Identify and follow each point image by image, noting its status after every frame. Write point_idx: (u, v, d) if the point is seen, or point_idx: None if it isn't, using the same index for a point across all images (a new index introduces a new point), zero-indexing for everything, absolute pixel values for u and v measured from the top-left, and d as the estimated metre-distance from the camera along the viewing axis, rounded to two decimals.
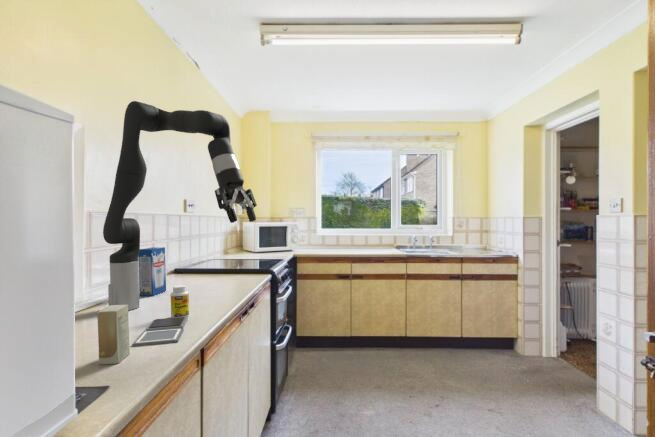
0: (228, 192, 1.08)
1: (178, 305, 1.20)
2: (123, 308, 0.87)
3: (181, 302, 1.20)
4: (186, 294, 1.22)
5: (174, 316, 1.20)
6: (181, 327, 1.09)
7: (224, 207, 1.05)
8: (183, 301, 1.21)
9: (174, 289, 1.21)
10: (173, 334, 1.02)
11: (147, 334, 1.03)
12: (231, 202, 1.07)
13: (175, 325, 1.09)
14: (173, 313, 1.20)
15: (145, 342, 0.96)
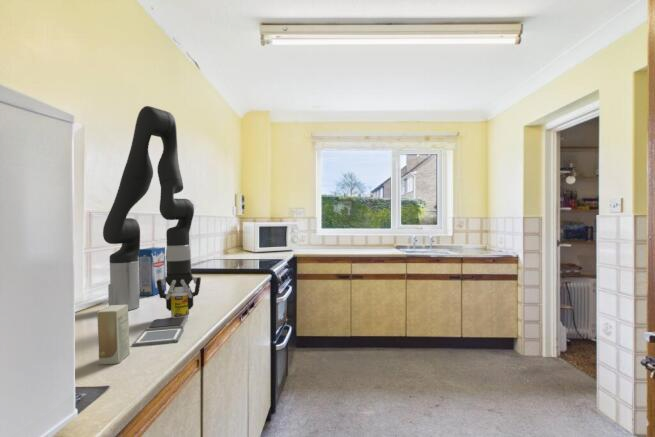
0: (167, 283, 1.21)
1: (178, 305, 1.20)
2: (123, 308, 0.87)
3: (181, 302, 1.20)
4: (186, 294, 1.22)
5: (174, 316, 1.20)
6: (181, 327, 1.09)
7: None
8: (183, 301, 1.21)
9: (174, 289, 1.21)
10: (173, 334, 1.02)
11: (147, 334, 1.03)
12: (168, 294, 1.21)
13: (175, 325, 1.09)
14: (173, 313, 1.20)
15: (145, 342, 0.96)
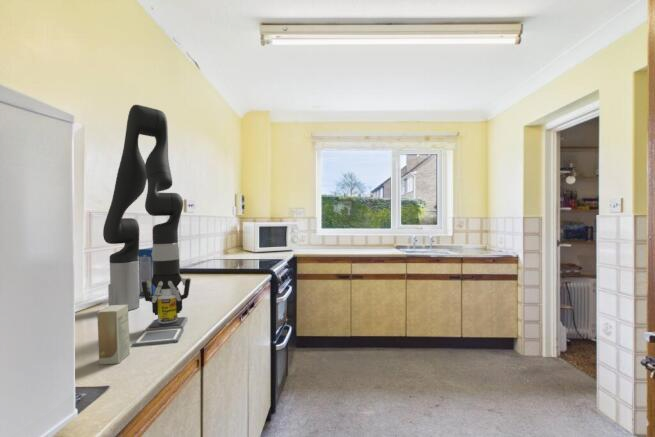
0: None
1: (165, 308, 1.10)
2: (123, 308, 0.87)
3: (168, 305, 1.10)
4: (174, 297, 1.12)
5: (161, 321, 1.10)
6: (181, 327, 1.09)
7: None
8: (171, 304, 1.11)
9: (161, 291, 1.11)
10: (173, 334, 1.02)
11: (147, 334, 1.03)
12: (154, 296, 1.11)
13: (175, 325, 1.09)
14: (160, 318, 1.10)
15: (145, 342, 0.96)
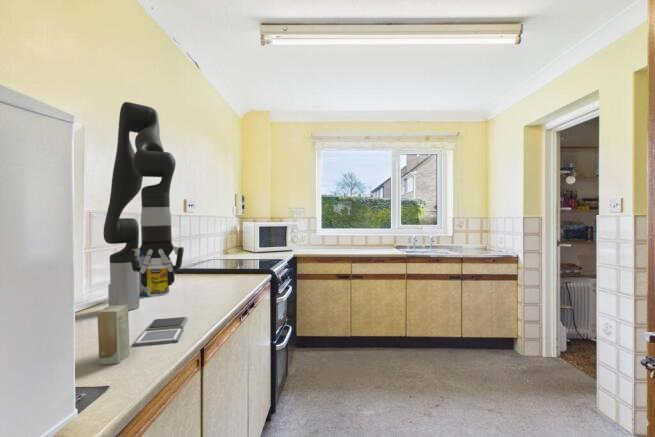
0: None
1: (155, 279, 0.99)
2: (123, 308, 0.87)
3: (158, 276, 0.99)
4: (165, 267, 1.00)
5: (150, 293, 0.99)
6: (181, 327, 1.09)
7: None
8: (161, 275, 0.99)
9: (150, 261, 1.00)
10: (173, 334, 1.02)
11: (147, 334, 1.03)
12: (143, 266, 0.99)
13: (175, 325, 1.09)
14: (149, 290, 0.99)
15: (145, 342, 0.96)
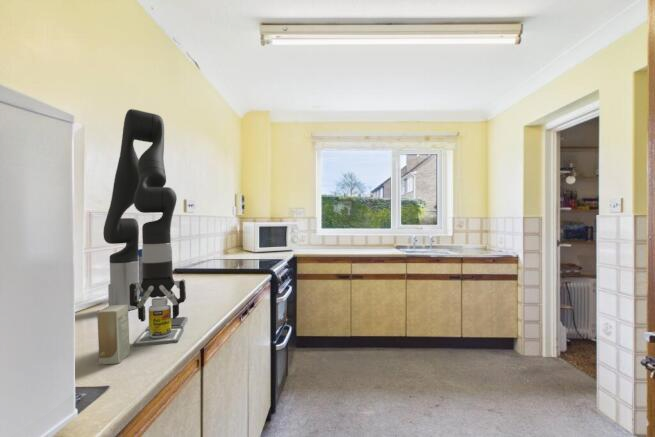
0: (142, 288, 1.00)
1: (157, 321, 0.99)
2: (123, 308, 0.87)
3: (160, 318, 0.99)
4: (167, 308, 1.01)
5: (152, 335, 0.99)
6: (181, 327, 1.09)
7: None
8: (163, 316, 1.00)
9: (153, 302, 1.00)
10: (173, 334, 1.02)
11: (147, 334, 1.03)
12: (141, 301, 0.99)
13: (175, 325, 1.09)
14: (151, 332, 0.99)
15: (145, 342, 0.96)
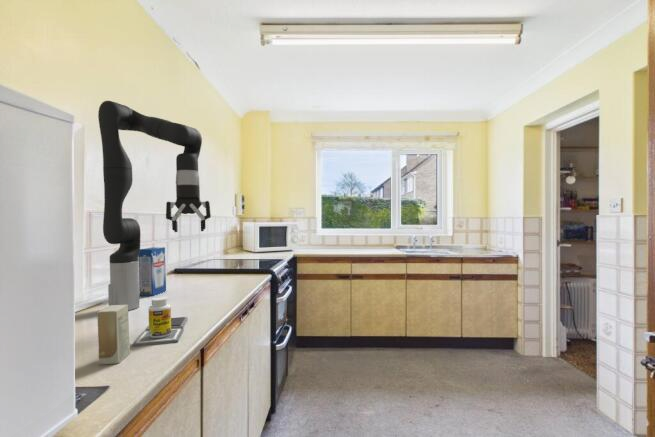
0: (176, 206, 1.25)
1: (157, 321, 0.99)
2: (123, 308, 0.87)
3: (160, 318, 0.99)
4: (167, 308, 1.01)
5: (152, 335, 0.99)
6: (181, 327, 1.09)
7: None
8: (163, 316, 1.00)
9: (153, 302, 1.00)
10: (173, 334, 1.02)
11: (147, 334, 1.03)
12: (175, 215, 1.25)
13: (175, 325, 1.09)
14: (151, 332, 0.99)
15: (145, 342, 0.96)
